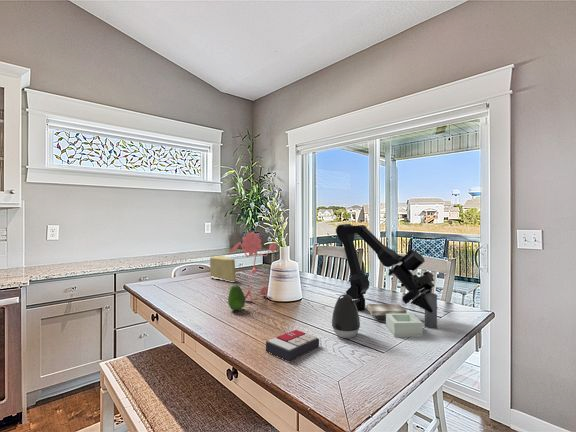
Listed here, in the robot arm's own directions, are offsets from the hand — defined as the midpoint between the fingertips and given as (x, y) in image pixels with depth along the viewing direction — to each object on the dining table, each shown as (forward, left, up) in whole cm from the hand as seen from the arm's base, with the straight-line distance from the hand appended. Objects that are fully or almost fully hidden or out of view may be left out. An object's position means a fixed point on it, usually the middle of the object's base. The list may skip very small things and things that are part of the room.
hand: (434, 310), depth 123 cm
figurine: (-75, +44, -7) cm, 87 cm away
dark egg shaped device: (-35, -6, -7) cm, 36 cm away
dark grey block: (-1, +1, -7) cm, 7 cm away
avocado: (-80, +24, -7) cm, 84 cm away
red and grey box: (-55, -16, -7) cm, 57 cm away
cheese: (-98, +85, -7) cm, 129 cm away
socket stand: (-13, -3, -7) cm, 15 cm away
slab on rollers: (-15, +12, -7) cm, 20 cm away
